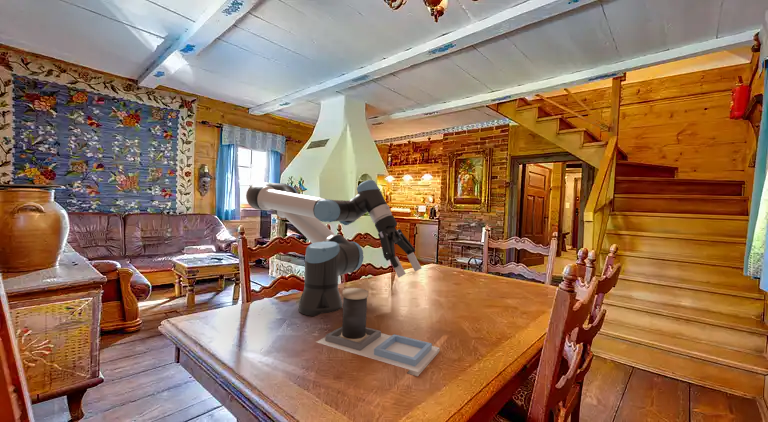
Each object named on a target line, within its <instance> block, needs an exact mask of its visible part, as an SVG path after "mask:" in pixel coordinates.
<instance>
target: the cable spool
mask: <svg viewBox="0 0 768 422" xmlns="http://www.w3.org/2000/svg"><path fill="white" fill-rule="evenodd" d="M342 297H343V298H342V299H343V300H342V324H341V325H342V326H341V327H342V333H341V338H344V339H348V340H351V341H355V342H361V341H362V340H364V339H365V338H367V334H366V327H367V312H368V311H367V309H368V304H367V303H368V297H369V290H368V289H365V288H361V287H360V288H359V287H358V288H357V287H350V288H345V289H343V290H342Z"/></svg>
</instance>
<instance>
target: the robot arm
mask: <svg viewBox="0 0 768 422" xmlns="http://www.w3.org/2000/svg"><path fill="white" fill-rule="evenodd" d="M356 191H357V194H356V195H355V196H354V197H352V198H351V199H349V200H340V199H339V200H338V199H330V198H323V197H318V196H311V195H307V194H306V195H305V194H301V193H299V192H298V190H297V189H296V188H295V187H294V186H292V185H290V184H287V183H278V182H266V181H259V182H254V183H253V184H251V185H250V186H249V187H248V189H247V191H246V195H245V196H246V197H245V199H246V202H247V204H248V205H249V206H250V207H251V208H252V209H255V210H258V211H273V212H274V214H275V215H277V216H278V218H281V219H284V218H285V219H286V220H287V221H289V223H291V225H293V226H294V227H295V228H296V229H297V230H298V231H299V232H300V233H301V234H302V235H303V236H304V237H305V238H306V239H307V240H308V241H310V244H309V245H307V247H306V248H305V255H304V285H303V286H304V288H303V290H302V294H301V296H300V300H299V302H298V312H299V313H300V314H302V315H305V316H310V317H317V316H319V315H321V314H330V313H334V312H338V311H339V310H341V309H343V300H342V298H341V293H340V290H339V276H342V275H345V274H346V275H347V274H348V273H349V274H350V273H353V272H356V271H358V270H359V269H360V268H361V267H362V264H363V262H364V251H363V248H362V246H361V245H360V244H359V243H357V242H355V241H349V240H348V239H346V238H345V236H343V235H341V234H335V233H334V232H333V231H332V230H330V229H329V228H328V227H327V226H326V225H325V223H333V222H339V223H340V224H342V225H343V226H349V225H351V224H352V223H355V222H356V221H357V220H359V218H361V217H363V216H364V215H365V214H367V213H368V215H369V217H370V219H371V220H372V221H371V222H373V224H374V227H375V228H376V230H377V232H378V233H377V234H378V238H379V241H380V245H381V250H382V253H383V254H382V255H383V258H384V259H385V260H386V262H388V261H390V263H391V266H392V268H393V270H394V271H395V273H396V275H397V278H402V277H403V276H405V275H406V274H407V273H406V271H405V269H404V267H403V266H402V263H401V262H400V259H399V257H398V256H397V255H396V252H395V250H396V249H395V248H396V247H395V245H397V246H398V247H399V248H400V249H402V251H403V252H404V253H405V254H406V257H407V259H408V261H409V263H410V265H411V267H412V269H413V271H414V272H417V271H419V270H421V269H422V266H421V263H420V262H419V261H418V257H416V254H415V253H414V252H416V249H415V247H414V246H413V244H412V243H411V242H410V241H409V240H408V238H407V237H406V235H405V234H404V233H403V232H402V229H400V228H399V229H396V226H397V225H398V222H397V220H396V219H395V217H394V215H393V213H392V211H391V209H390V205H388V203H387V202H386V200H385V198H384V196H383V194H382V192H381V189H380V188H379V186H378V184H377V182H376V181H375V180H372V179H367V180H364V181H362V182H361V183H359V185H358V186H357V187H356ZM323 222H324V223H323Z"/></svg>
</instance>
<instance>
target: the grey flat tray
mask: <svg viewBox="0 0 768 422" xmlns="http://www.w3.org/2000/svg"><path fill="white" fill-rule="evenodd" d="M341 333H342V326H340V327H338V328H337V329H334V330H333V331H331V332H329V333H326V335H324V337H322V338H320V339H319V340H317V341H315V343H318V344H320V345H325V346H328V347H330V348H334V349H336V350H337V349H338V350H342V351H344V352H347V353H351V354H354V355H358V356H360V357H366V358H369V359H372V360H375V361H379V362H382V363H385V364H389V365H392V366H396V367H398V368H403V369H406V370H408V371H407V372H406V374H409V375H412V376H415V377H419V376H420V374H421V373H422V372H423V371H424V370H425V369H426V367H427V366H428V365H429V364H430V363H431V362H432V361H433V359H434V358H435V357H436V356H437V355H438V354H439V352H440V350H441V349H440V346H439V347H438V346H435V345H433V343H431V342H428V341H423V340H420V339H416V338H412V337H407V336H404V335H401V334H400V335H399V334H396V333H394V334H392V335H391V334H387V333H382V331H381V330H380V329H379V330H378V329H376V328H370V327H367V326H366V334H367V338H365V339H364V340H362V341H361V342H355V341H351V340H348V339H344V338H341Z"/></svg>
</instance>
